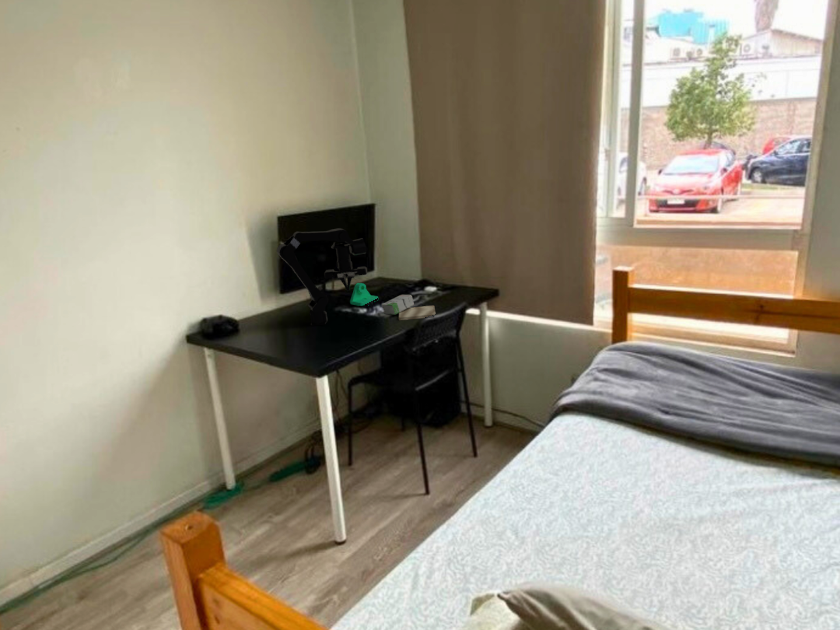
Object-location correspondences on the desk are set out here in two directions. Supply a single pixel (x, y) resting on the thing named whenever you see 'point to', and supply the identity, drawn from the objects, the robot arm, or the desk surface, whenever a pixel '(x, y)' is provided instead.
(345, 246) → the robot arm
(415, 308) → the birch board
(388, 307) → the ink box
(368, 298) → the camera mount
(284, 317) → the desk surface
